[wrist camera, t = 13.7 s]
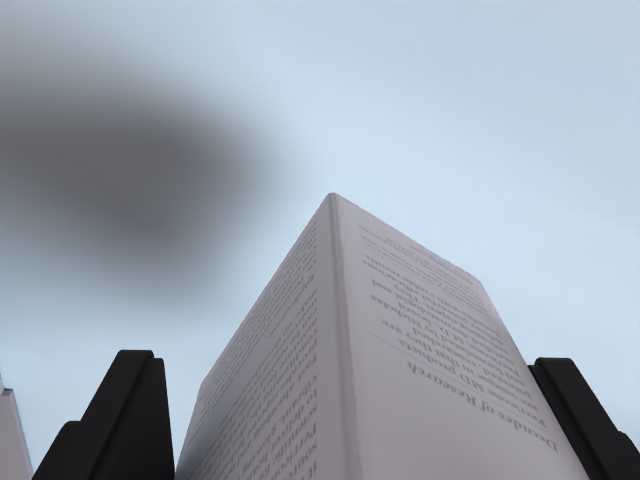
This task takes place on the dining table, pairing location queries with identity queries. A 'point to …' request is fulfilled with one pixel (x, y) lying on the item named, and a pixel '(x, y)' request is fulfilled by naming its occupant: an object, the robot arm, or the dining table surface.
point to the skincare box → (372, 372)
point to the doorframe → (12, 440)
